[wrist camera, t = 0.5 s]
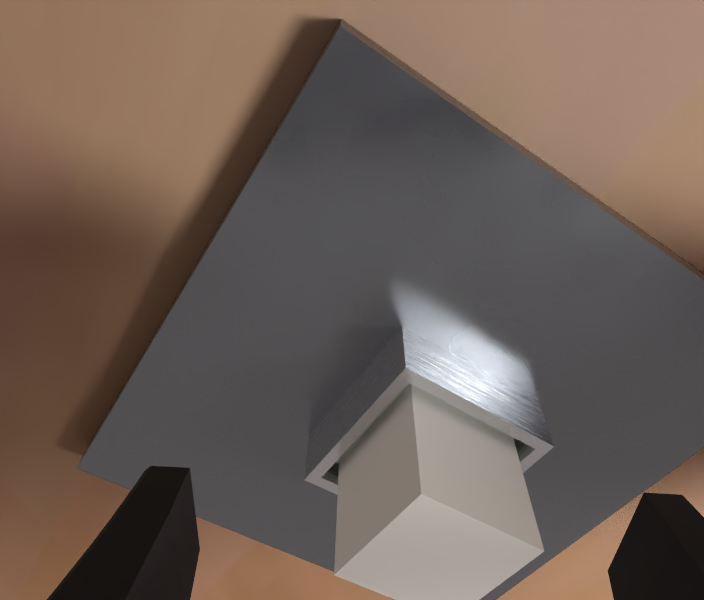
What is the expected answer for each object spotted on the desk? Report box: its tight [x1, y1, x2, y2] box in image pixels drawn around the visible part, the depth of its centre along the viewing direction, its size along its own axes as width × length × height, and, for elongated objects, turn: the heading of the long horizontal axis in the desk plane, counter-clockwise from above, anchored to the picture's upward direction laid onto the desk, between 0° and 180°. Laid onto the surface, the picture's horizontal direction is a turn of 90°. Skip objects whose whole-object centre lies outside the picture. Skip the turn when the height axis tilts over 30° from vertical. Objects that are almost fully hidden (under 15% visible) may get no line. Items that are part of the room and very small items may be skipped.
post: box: [334, 383, 544, 600], centre depth 19 cm, size 4×4×6 cm
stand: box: [77, 19, 704, 600], centre depth 21 cm, size 18×18×4 cm
